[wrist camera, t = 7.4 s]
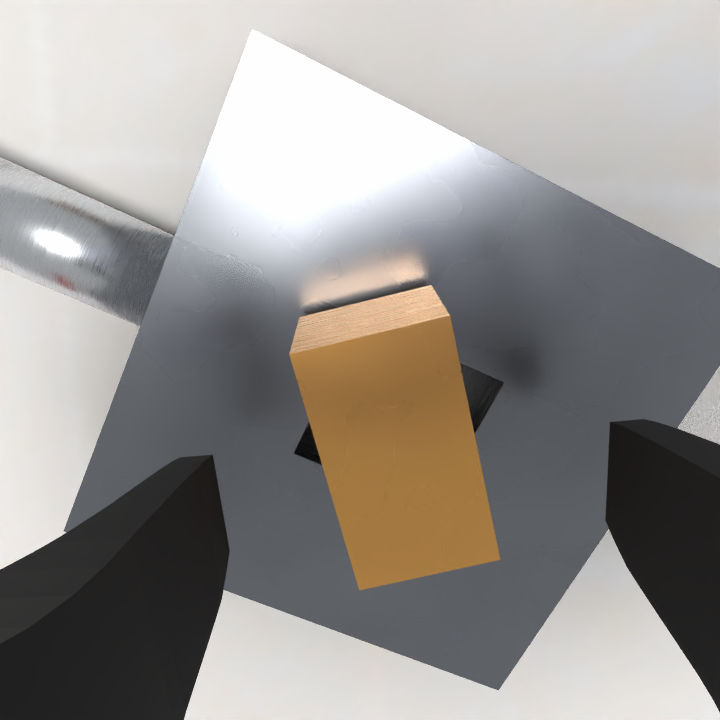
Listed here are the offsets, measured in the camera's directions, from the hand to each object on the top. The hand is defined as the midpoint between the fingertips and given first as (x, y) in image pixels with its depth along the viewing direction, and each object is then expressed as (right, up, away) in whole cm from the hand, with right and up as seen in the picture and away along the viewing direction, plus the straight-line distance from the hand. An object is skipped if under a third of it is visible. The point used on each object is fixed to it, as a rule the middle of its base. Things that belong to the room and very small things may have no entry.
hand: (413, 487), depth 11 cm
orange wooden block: (0, +2, +6) cm, 7 cm away
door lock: (-3, +3, +6) cm, 7 cm away
